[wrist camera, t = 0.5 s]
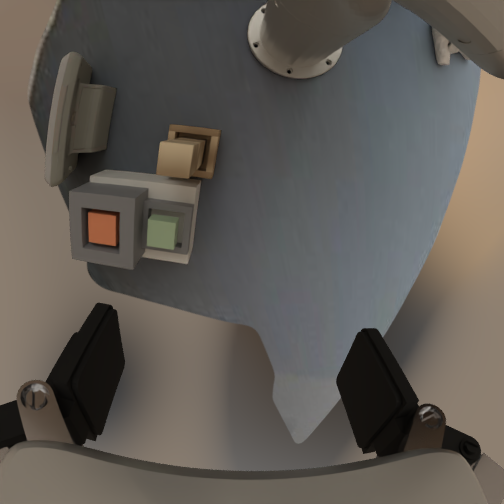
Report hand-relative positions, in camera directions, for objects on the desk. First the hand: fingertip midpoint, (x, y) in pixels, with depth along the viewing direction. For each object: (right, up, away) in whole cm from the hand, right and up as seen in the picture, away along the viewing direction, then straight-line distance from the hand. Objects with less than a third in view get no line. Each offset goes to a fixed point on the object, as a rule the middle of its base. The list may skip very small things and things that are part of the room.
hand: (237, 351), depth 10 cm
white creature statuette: (+32, +38, +18) cm, 53 cm away
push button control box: (-14, +10, +28) cm, 33 cm away
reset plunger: (-16, +7, +20) cm, 27 cm away
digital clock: (-23, +23, +22) cm, 39 cm away
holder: (-7, +17, +25) cm, 31 cm away
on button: (-10, +6, +22) cm, 25 cm away
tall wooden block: (-7, +17, +24) cm, 30 cm away
